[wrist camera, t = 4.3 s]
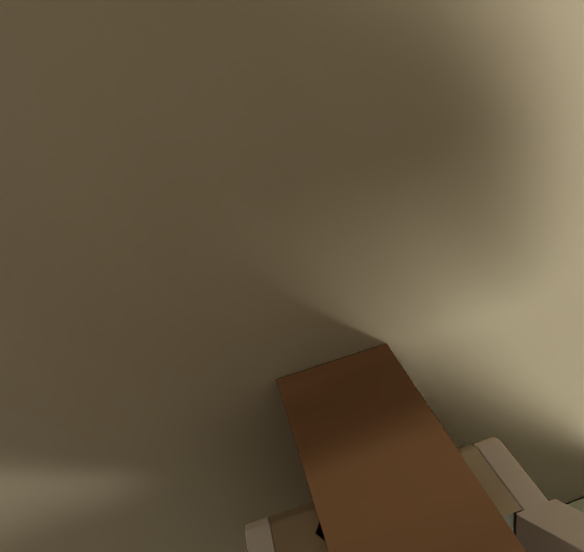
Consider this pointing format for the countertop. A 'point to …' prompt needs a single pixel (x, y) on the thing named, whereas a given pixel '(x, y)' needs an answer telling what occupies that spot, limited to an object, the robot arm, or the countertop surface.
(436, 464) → the block
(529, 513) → the robot arm
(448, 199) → the countertop surface
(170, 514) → the countertop surface
